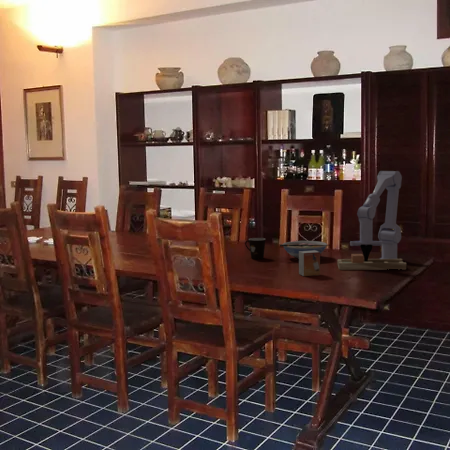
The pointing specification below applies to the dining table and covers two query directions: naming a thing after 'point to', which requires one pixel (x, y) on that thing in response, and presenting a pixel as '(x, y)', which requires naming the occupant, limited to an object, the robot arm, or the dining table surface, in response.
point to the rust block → (357, 258)
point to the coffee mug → (256, 247)
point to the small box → (309, 263)
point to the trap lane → (372, 264)
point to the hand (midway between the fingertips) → (366, 261)
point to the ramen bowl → (303, 247)
